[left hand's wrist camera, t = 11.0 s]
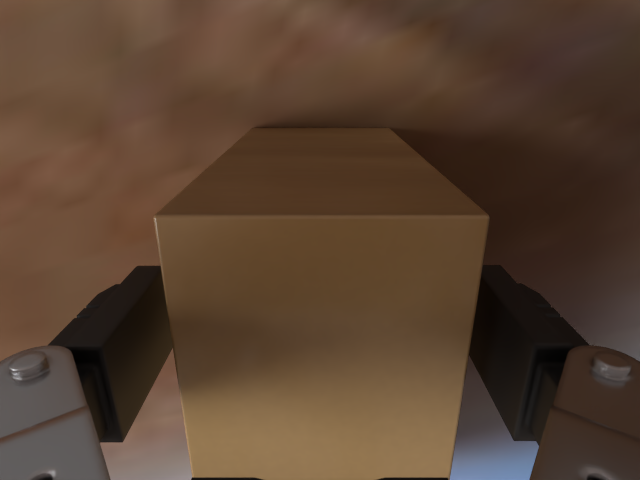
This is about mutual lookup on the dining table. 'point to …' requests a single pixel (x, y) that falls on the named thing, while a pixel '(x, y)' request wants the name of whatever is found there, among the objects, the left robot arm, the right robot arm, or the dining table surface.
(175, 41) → the dining table surface
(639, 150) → the dining table surface
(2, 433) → the left robot arm
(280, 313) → the box
